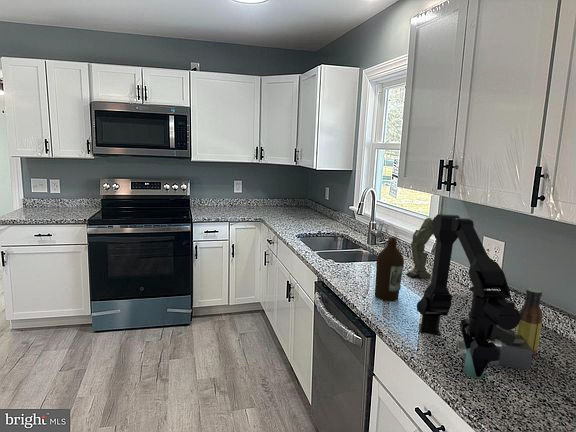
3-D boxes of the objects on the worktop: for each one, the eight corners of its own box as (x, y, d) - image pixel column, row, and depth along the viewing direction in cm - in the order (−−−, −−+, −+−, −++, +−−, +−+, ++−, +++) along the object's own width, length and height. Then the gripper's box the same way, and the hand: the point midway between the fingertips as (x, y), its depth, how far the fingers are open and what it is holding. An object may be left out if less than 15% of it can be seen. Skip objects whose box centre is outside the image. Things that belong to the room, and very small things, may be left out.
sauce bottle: (527, 346, 126) (538, 286, 123) (541, 356, 120) (553, 294, 117) (508, 346, 126) (518, 285, 123) (521, 356, 120) (532, 293, 116)
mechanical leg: (406, 277, 189) (426, 216, 186) (398, 272, 195) (417, 214, 193) (429, 283, 193) (450, 224, 190) (421, 278, 200) (440, 221, 197)
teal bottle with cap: (462, 366, 112) (465, 343, 110) (481, 370, 110) (484, 346, 109) (465, 376, 107) (469, 351, 106) (485, 379, 106) (489, 355, 105)
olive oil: (367, 294, 164) (373, 235, 160) (385, 291, 170) (391, 233, 166) (387, 303, 156) (393, 241, 151) (405, 299, 161) (412, 239, 157)
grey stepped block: (456, 343, 125) (459, 322, 124) (518, 353, 121) (521, 331, 120) (462, 359, 116) (466, 336, 115) (529, 370, 112) (533, 347, 111)
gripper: (528, 332, 95) (518, 392, 98) (505, 304, 113) (497, 356, 116) (477, 325, 98) (469, 384, 100) (463, 299, 116) (456, 349, 118)
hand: (474, 367), depth 108 cm, fingers open, 9 cm apart
